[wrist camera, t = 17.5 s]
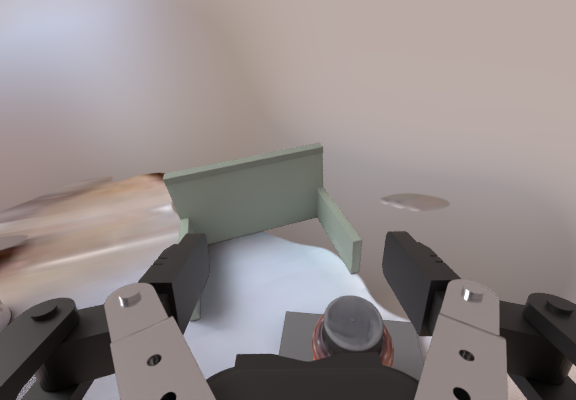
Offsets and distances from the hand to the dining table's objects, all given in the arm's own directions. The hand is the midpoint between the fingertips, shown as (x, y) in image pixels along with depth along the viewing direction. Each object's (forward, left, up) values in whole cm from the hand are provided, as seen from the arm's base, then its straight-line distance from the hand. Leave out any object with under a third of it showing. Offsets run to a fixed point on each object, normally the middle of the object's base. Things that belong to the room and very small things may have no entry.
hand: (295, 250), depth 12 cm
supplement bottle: (+3, -2, -20) cm, 21 cm away
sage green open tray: (+12, +16, -21) cm, 29 cm away
